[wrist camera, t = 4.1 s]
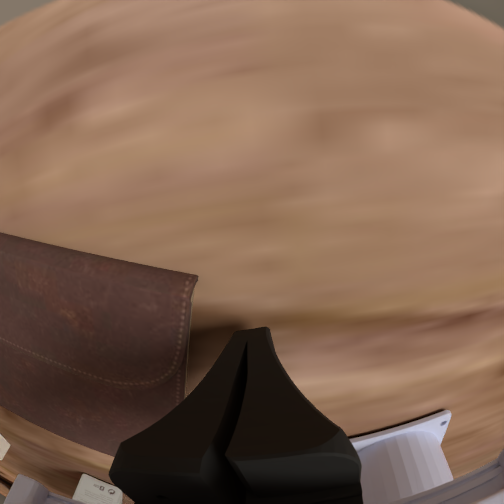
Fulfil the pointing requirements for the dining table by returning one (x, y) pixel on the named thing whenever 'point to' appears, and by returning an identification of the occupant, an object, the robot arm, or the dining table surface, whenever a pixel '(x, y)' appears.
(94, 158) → the dining table surface
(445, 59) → the dining table surface
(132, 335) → the notebook
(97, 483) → the skincare box
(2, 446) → the bar
